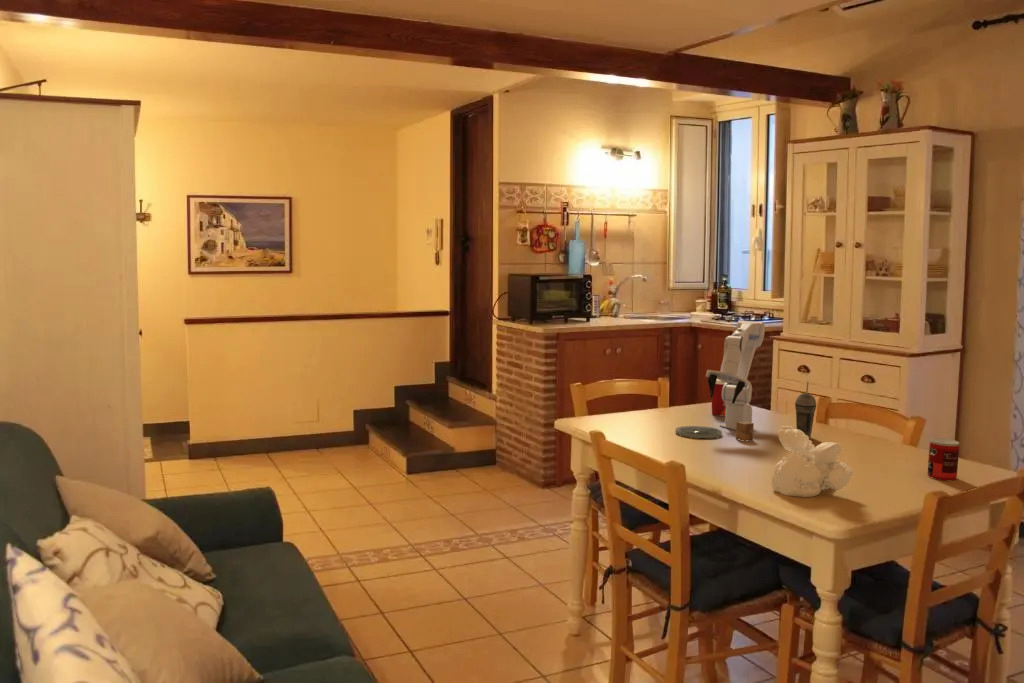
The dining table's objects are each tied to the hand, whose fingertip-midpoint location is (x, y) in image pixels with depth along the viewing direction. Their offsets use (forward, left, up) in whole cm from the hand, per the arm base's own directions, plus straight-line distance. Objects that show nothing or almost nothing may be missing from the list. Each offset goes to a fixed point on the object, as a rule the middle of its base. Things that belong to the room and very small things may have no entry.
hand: (722, 399), depth 313 cm
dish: (+2, -9, -14) cm, 17 cm away
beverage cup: (-28, +12, -14) cm, 34 cm away
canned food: (-22, +68, -14) cm, 73 cm away
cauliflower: (+25, +59, -14) cm, 66 cm away
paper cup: (-30, -31, -14) cm, 45 cm away
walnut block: (-6, +5, -14) cm, 16 cm away
